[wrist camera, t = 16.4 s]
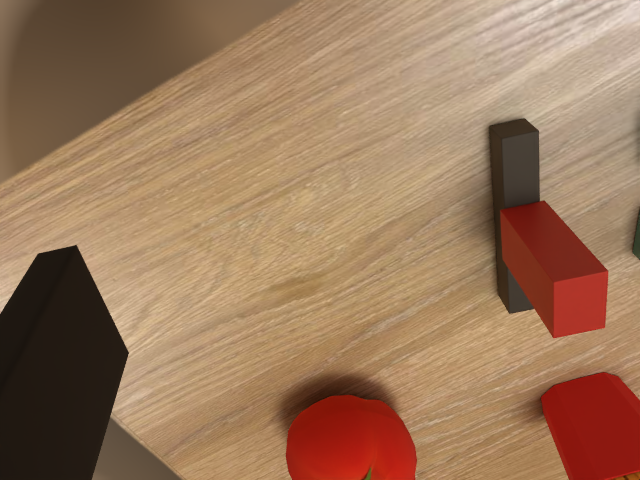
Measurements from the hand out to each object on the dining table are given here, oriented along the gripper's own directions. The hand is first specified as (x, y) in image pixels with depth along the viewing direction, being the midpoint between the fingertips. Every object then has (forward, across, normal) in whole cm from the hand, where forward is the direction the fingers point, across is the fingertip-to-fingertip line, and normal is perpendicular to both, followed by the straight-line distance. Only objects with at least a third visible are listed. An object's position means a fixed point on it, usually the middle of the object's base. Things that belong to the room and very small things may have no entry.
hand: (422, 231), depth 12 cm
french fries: (+27, +16, -36) cm, 48 cm away
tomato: (+27, -4, -33) cm, 43 cm away
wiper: (+27, +11, -17) cm, 33 cm away
